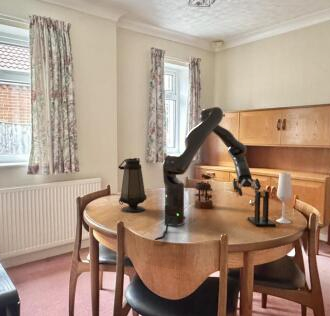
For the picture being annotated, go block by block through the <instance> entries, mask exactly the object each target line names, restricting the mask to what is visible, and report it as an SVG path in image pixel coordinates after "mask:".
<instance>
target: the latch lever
mask: <svg viewBox="0 0 330 316" xmlns="http://www.w3.org/2000/svg"><path fill="white" fill-rule="evenodd" d="M259 191H260V199H263V198H264V197H265V191H263V190H262V191H261V190H259ZM248 204H249V206H251V207H255V198H254V199H250V200H249V201H248Z"/></svg>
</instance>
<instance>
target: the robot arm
mask: <svg viewBox="0 0 330 316" xmlns="http://www.w3.org/2000/svg"><path fill="white" fill-rule="evenodd" d="M199 117H200V121H201V122H200V123H199V124H198V125H196V126H194V127H193V128H192V129H191V130H190V131H189V132H188V134H187V135H186V136H185V139H184V146H185V149H184V151H183V152H182V153H181V154H180V155H173V154H171V155H170V154H168V155H166V156H165V157H164V158H163V162H162V175H163V176H162V178H163V185H164V225H165V230H164V231H163V233H162V235H161V236H159V237H155V239H154V240H157V241H158V240H162V239H164V238H165V236H166V233H167V232H168V230H169V226H171V227H179V226H183V225H185V221H186V216H185V183H184V182H183V181H182V180H180V179H179V178H178V177H177V176H182V175H184V174H186V172H187V171H188V170H189V168H190V166H191V164H192V162H193V160H194V158H195V157H196V155H197V153H198V152H199V150H200V149H201V148H202V147H203V145H204V144H205V142H206V141H207V139H208V138H209V136H210V135H211V134H212V133H213V134H215V135H216V136H217V137H218V138H219V139H220V141H222V143H223V145H224V146H225V147H226V148H228V150H227V153H228V155H229V157H230V159H232V161H233V164H234V168H235V173H236V177H237V179H236V178H233V179H232V186H233V190H235V191H237V193H238V195H239V196H240V197H243V190H242V188H250V189H252V190H254V191H255V190H258V191H261V189H262V186H261V183H260V180H259V178H256V179H253V178H252V174H251V173H252V172H251V170H250V166H249V164H248V162H247V158H246V157H245V156H244V155H245V154H246V153H247V147H246V145H245V144H244V143H243V142H241V141H240V140H238V139H237V138H236V137H235V136H234V134H233V133H232V132H231V131H230V130H228V129H227V128H225V127H223V126H222V125H220V123H222V120H223V118H224V111H223V109H222V108H221V107H219V106H212V107H208V108H205V109H203V110H202V111H200V115H199ZM238 184H239V185H238Z"/></svg>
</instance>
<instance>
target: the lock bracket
mask: <svg viewBox="0 0 330 316" xmlns="http://www.w3.org/2000/svg"><path fill="white" fill-rule="evenodd" d="M260 191H261V190H254V199H255V206H254V216H247V221H249V222H250V223H252V224H253V226H254V227H257V228H260V227H261V228H263V227H265V228H274V227H277V223H276V222H274V221H272V219H270V218H269V210H270V208H269V207H270V205H269V204H270V191H268V190H266V189H263V190H262V191H265V197H264V198H262V216H261V198H260Z"/></svg>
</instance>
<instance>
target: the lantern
mask: <svg viewBox="0 0 330 316" xmlns="http://www.w3.org/2000/svg"><path fill="white" fill-rule="evenodd" d="M140 163H141V160H140V158H139V157H138V158H137V157H134V158H131V157H129V158H125V159H124V160H123V161H122V162H121V163H120V164H119V165H118V169H119V170H122V171H123V175H122V184H121V191H120V196H119V198H118V203H119V205H123V204H126V205H127V206H124V207H123V208H121V211H122V212H124V213H132V214H133V213H134V214H135V213H141V212H143V211H145V208H144V207H143V206H140V204H143V203H144V202H145V201H147V195H146V191H145V185H144V184H145V183H144V177H143V171H142V164H140ZM123 164H124V165H123Z"/></svg>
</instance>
